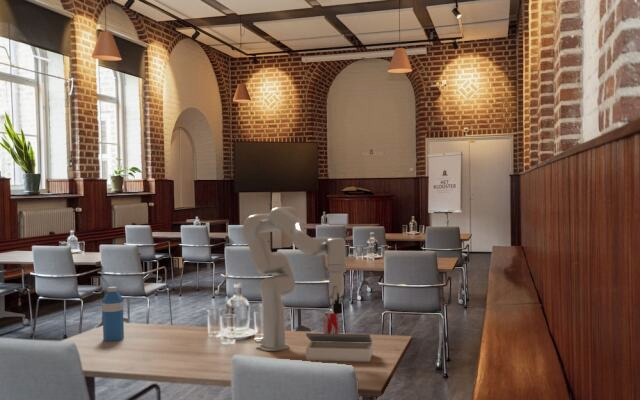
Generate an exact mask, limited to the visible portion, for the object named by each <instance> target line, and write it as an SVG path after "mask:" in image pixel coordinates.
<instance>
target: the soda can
mask: <svg viewBox="0 0 640 400" xmlns="http://www.w3.org/2000/svg"><path fill="white" fill-rule="evenodd" d="M338 314H339V313H334V310H326V311H324V314H323V334H340V332H339V331H340V330H339V315H338Z"/></svg>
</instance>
